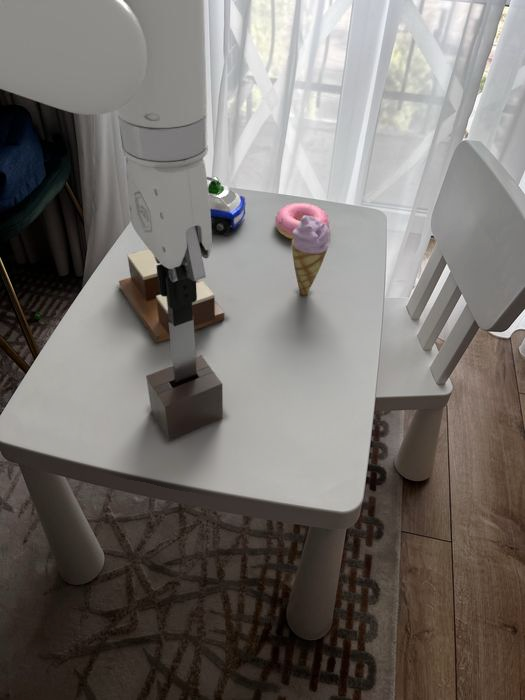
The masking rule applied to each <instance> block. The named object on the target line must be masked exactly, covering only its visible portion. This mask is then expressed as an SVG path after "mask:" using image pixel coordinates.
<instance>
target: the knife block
mask: <svg viewBox="0 0 525 700" xmlns="http://www.w3.org/2000/svg"><path fill="white" fill-rule="evenodd" d="M196 371H197V375H194V376H192V377H189V378H186V379H184V380H181V381H179V382H176V383H175V379H174V370H173V365H171V366H167V367H166V368H163V369H160V370H158V371H155V372H152V373H150V374H147V375H145V377H146V385H147V391H148V397H149V404H150V410H151V412H152V414H153V416H154V417H155V419H156V421H157V422H158V424H159V426H160V428H161V430H162V431H163V433H164V434H165V436H166V438H167V440H168V441H169V442H171V441H173V440H175V439H177V438H179V437H182V436H185V435H186V434H189V433H191V432H193V431H196V430H198V429H200V428H202V427H205V426H207V425H209V424H211V423H214V422H216V421H218V420H221V419H223V418H224V417H223V415H224V413H223V411H224V410H223V409H224V407H223V404H224V403H223V402H224V401H223V396H224V395H223V392H224V391H223V382H222V381H221V379H220V378H219V377H218V376H217V374H216V372H214V370H213V369H212V367H211V366H210V365H209V363H208V362H207V361H206V359H205V358H204V356H203V355H202V354H200V355H198V356H196Z"/></svg>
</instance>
